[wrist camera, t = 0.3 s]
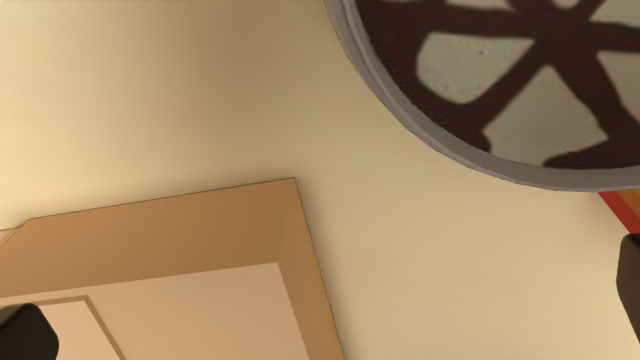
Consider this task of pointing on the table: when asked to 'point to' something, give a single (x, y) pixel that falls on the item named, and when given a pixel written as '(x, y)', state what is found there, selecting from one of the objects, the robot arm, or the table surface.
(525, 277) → the table surface
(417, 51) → the food container
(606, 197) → the baking soda box
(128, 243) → the carton
